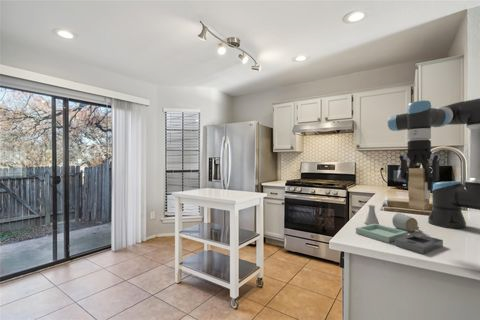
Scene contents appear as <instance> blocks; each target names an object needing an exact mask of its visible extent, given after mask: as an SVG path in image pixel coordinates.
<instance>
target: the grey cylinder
mask: <svg viewBox="0 0 480 320" xmlns="http://www.w3.org/2000/svg"><path fill="white" fill-rule="evenodd" d="M418 224H419V222H418V221H417V219H416V218H414V217H413V216H411V215H410V216H409V215H408V214H407V215H406V214H404V213H400V212H398V213H396V214H394V216H393V217H392V225H393V228H394V227H395V229H399V230H403V231H407V232H409V233H413V232H415V231H418V230H419V228H420V227H419V225H418Z"/></svg>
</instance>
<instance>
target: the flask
mask: <svg viewBox="0 0 480 320" xmlns="http://www.w3.org/2000/svg"><path fill="white" fill-rule="evenodd" d="M375 207H376V206H375V205H374V204H372V205H371V204H370V205H368V213H367V216H366V218H365V221H364V224H366V225H370V224H379V225H380V222H379V219H378V218H377V215H376V211H375V209H376V208H375Z"/></svg>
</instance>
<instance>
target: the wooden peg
mask: <svg viewBox="0 0 480 320" xmlns="http://www.w3.org/2000/svg"><path fill="white" fill-rule="evenodd" d="M408 168H409V167H408ZM426 181H427V180H426V176H425V169H423V167H417V168H416V167H415V168H409V197H408V208H409V209H410V208H411V209H416V210H423V211H424V210H429V209H430V198H429V199H425V182H426Z"/></svg>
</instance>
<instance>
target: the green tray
mask: <svg viewBox="0 0 480 320" xmlns="http://www.w3.org/2000/svg"><path fill="white" fill-rule="evenodd" d="M355 234H357V235H361V236H363V237H367V238H371V239H374V240H378V241H381V242H384V243H386V244H387V243H388V244H390V243H394V239H397V238H400V237H404V236H407V235H409V233H408V231H405V230H402V229H399V228H396V227H395V228H394V227H390V226H386V225H383V224H380V223H379V224H370V225H367V224H366V225H362V226H357V227H355Z"/></svg>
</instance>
